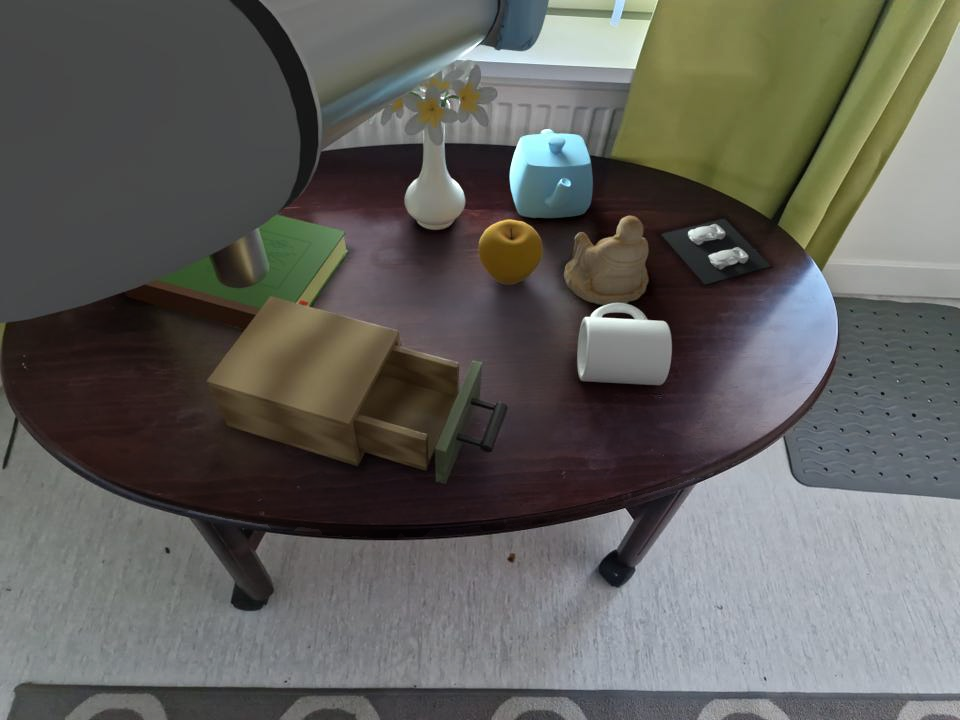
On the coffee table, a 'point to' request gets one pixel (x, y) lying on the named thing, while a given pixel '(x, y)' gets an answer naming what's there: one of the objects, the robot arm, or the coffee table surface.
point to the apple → (510, 251)
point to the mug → (623, 347)
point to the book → (292, 277)
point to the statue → (610, 265)
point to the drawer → (423, 412)
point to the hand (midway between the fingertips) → (188, 206)
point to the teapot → (551, 175)
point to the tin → (241, 262)
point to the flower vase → (439, 138)
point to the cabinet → (302, 377)
